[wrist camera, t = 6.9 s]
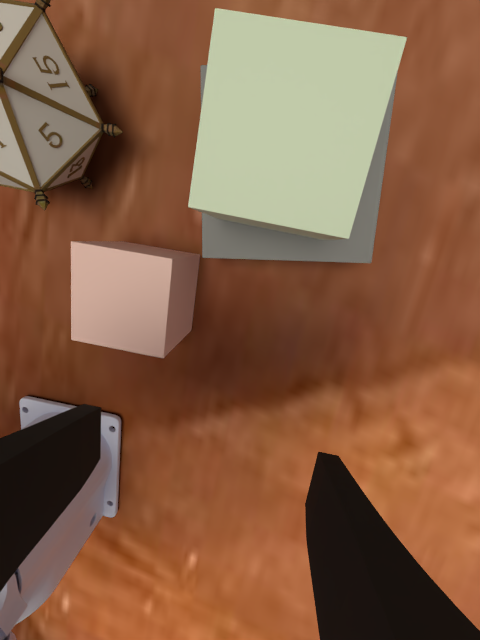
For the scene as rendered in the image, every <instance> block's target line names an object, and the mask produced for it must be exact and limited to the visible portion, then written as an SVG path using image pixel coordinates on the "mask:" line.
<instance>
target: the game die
mask: <svg viewBox="0 0 480 640" xmlns="http://www.w3.org/2000/svg"><path fill="white" fill-rule="evenodd" d="M49 3H50V0H36V2H35V4H34V3H27V2H20V1H14V0H0V186H5V187H10V188H15V189H20V190H25V191H30V192H35V194H36V195H35V198H34V199H35V200H36V205H39V206H40V207H41V208H42V209H44V210H46V208H47V205H48V204H49V203H50V202H49V201H48V200H47V199H48V197H47V196H46V195H45V194H44V192H45V191H48V190H51V189H53V188H56V187H59V186H62V185H64V184H67V183H70V182H72V181H75V180H78V179H80V180H81V183H82V185H84V186H85V188H86V187H87V188H92V189H93V187H92V181H91V180H89V178H88V177H85V176H84V173H85V171H86V169H87V166H88V164H89V162H90V160H91V158H92V156H93V153H94V151H95V149H96V147H97V145H98V143H99V141H100V138H101V136H102V134H103V132H105V133H107V134H108V135H109V136H111V135H112V136H114V137H116V136H117V135H119V134H121V133H123V132H122V131H121V130H120V129H119V128H118V127H117V126H116V124H112V125H111V123H107V124H106V125H105V124H104V123H103V121H102V120H101V118H100V116H99V114H98V112H97V110H96V108H95V106H94V104H93V102H92V100H91V99H90V97H93V96H96V93H97V90H98V89H96V88H95V87H93V86H92V85H91V84H89V86H88V85H86V86H85V87H84V85H83V83H82V81H81V79H80V78H79V76H78V74H77V72H76V70H75V68H74V66H73V64H72V62H71V60H70V58H69V57H68V55H67V53H66V51H65V49H64V47H63V45H62V43H61V41H60V39H59V37H58V36H57V34H56V32H55V30H54V28H53V26H52V24H51V22H50V20H49V18H48V16H47V15H46V13H45V9H46V8H47V7H48V6H49V7H50V4H49Z"/></svg>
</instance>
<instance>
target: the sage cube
mask: <svg viewBox="0 0 480 640" xmlns="http://www.w3.org/2000/svg"><path fill="white" fill-rule="evenodd" d="M406 39H407V37H402V36H395V35H389V34H382V33H375V32H369V31H362V30H356V29H349V28H343V27H336V26H329V25H323V24H316V23H310V22H303V21H296V20H290V19H283V18H277V17H270V16H264V15H257V14H250V13H244V12H237V11H231V10H224V9H218V8H215V13H214V21H213V28H212V35H211V43H210V50H209V57H208V65H207V72H206V79H205V87H204V94H203V101H202V109H201V116H200V123H199V131H198V138H197V145H196V153H195V160H194V167H193V175H192V182H191V189H190V197H189V204H188V207H190V208H192V209H195V210H197V211H200V212H202V213H205V214H207V215H210V216H212V217H215V218H217V219H221V220H226V221H231V222H236V223H241V224H246V225H251V226H256V227H261V228H266V229H271V230H276V231H281V232H286V233H291V234H296V235H301V236H306V237H311V238H316V239H321V240H336V239H349V237H350V233H351V230H352V226H353V223H354V219H355V216H356V212H357V209H358V205H359V202H360V198H361V195H362V192H363V188H364V185H365V181H366V178H367V174H368V171H369V167H370V164H371V160H372V157H373V153H374V150H375V146H376V143H377V140H378V136H379V133H380V129H381V126H382V122H383V119H384V115H385V112H386V108H387V105H388V101H389V98H390V94H391V91H392V88H393V84H394V81H395V77H396V74H397V70H398V67H399V63H400V60H401V56H402V53H403V49H404V46H405V42H406Z"/></svg>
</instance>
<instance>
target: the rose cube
mask: <svg viewBox="0 0 480 640" xmlns="http://www.w3.org/2000/svg"><path fill="white" fill-rule="evenodd" d="M199 261H200V254H194V253H188V252H182V251H176V250H171V249H165V248H159V247H153V246H147V245H141V244H135V243H130V242H109V241H71V340H75V341H80V342H85V343H90V344H95V345H100V346H105V347H110V348H115V349H120V350H124V351H129V352H134V353H139V354H144V355H149V356H154V357H159V358H164V357H165V356H166V355H167V354H168V353H169V352H170V351H171V350H172V349H173V348H174V347H175V346H176V345H177V344H178V343H179V342H180V341H181V340H182V339H183V338H184V337H185V336H186V335H187V334H188V333H189V332H190V331H191V329H192V321H193V312H194V304H195V295H196V287H197V278H198V269H199Z"/></svg>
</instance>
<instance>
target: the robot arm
mask: <svg viewBox="0 0 480 640" xmlns="http://www.w3.org/2000/svg"><path fill="white" fill-rule="evenodd" d="M20 417H21V430H20V431H17V432H15V433H12V434H10V435H7V436H5V437H2V438H0V640H16V636H15V635H14V634H13V633H12V632H11V630H12V629H13V627H14V626H15V625H16V624H17V623H19V622H21V621H22V620H24V619H25V618H26V617H28V616H29V615H30V614H32V613H33V612H34V611H35V610H37V609H38V608H39V607H40V606H41V605H42V604H43V603H44V602H45V601H46V600H47V599H48V598H49V596H50V595H51V594H52V593H53V591H54V590H55V588H56V587H57V585H58V584H59V582H60V581H61V579H62V578H63V576H64V575H65V573H66V571H67V570H68V568H69V567H70V565H71V564H72V562H73V561H74V559H75V558H76V556H77V555H78V553H79V551H80V550H81V548H82V547H83V545H84V544H85V542H86V541H87V539H88V538H89V536H90V535H91V533H92V531H93V530H94V528H95V527H96V525H97V524H98V522H99V521H100V519H101V518H102V516H106V517H111V518H112V517H114V516H115V515H116V514H117V511H118V491H119V467H120V443H121V419H120V417H119V416H117V415H114V414H109V413H105V412H101V407H96V406H91V405H86V404H83V405H80V406H72V405H67V404H63V403H58V402H53V401H49V400H44V399H39V398H35V397H30V396H25V397H23V398H22V399H21V400H20ZM112 426H113V427H115V429H114V428H113V427H112ZM305 507H306V538H307V548H308V555H309V563H310V570H311V577H312V585H313V592H314V599H315V606H316V614H317V621H318V628H319V635H320V640H480V631H479V630H478V629H477V628H476V627H475V626H474V625H473V624H472V623H471V621H470V620H469V619H468V618H467V617H466V616H465V615H464V614H463V613H462V612H461V611H460V610H459V609H458V608H457V607H456V606H455V604H454V603H453V602H452V601H451V600H450V599H449V598H448V597H447V595H446V594H445V593H444V592H443V591H442V590H441V589H440V588H439V587H438V585H437V584H436V583H435V582H434V581H433V580H432V579H431V578H430V577H429V575H428V574H427V573H426V572H425V571H424V570H423V568H422V567H421V566H420V565H419V564H418V563H417V561H416V560H415V559H414V558H413V557H412V555H411V554H410V553H409V552H408V550H407V549H406V548H405V547H404V545H403V544H402V543H401V542H400V540H399V539H398V538H397V537H396V536H395V534H394V533H393V532H392V530H391V529H390V528H389V526H388V525H387V524H386V523H385V521H384V520H383V519H382V517H381V516H380V515H379V513H378V512H377V511H376V509H375V508H374V506H373V505H372V504H371V502H370V501H369V500H368V498H367V497H366V495H365V494H364V492H363V491H362V490H361V488H360V487H359V485H358V484H357V482H356V481H355V479H354V478H353V477H352V475H351V474H350V472H349V471H348V469H347V468H346V466H345V465H344V463H343V462H342V461H341V459H340V458H339V456H337V455H332V454H327V453H322V452H318V455H317V459H316V463H315V467H314V471H313V475H312V479H311V483H310V487H309V491H308V495H307V499H306V503H305Z"/></svg>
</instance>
